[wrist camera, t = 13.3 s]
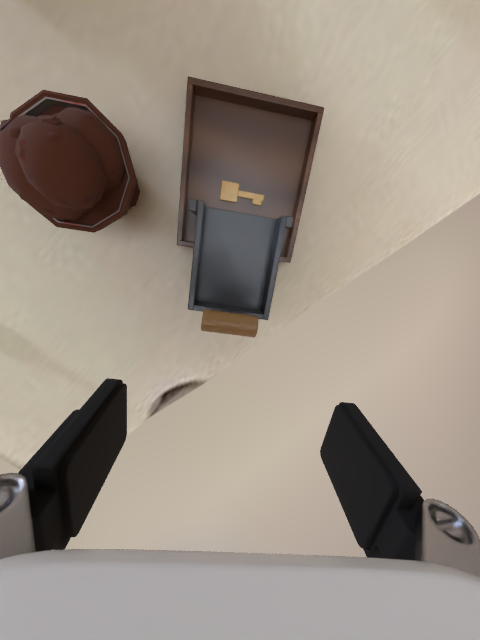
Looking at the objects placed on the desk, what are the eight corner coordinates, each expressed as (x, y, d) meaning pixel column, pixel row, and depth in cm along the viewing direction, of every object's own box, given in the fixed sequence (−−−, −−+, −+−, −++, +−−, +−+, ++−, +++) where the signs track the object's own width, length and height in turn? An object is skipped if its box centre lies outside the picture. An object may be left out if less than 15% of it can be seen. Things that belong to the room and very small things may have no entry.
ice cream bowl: (144, 128, 28) (60, 17, 14) (169, 227, 32) (123, 218, 18) (58, 144, 28) (-113, 50, 14) (93, 241, 32) (-14, 243, 18)
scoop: (201, 206, 26) (190, 183, 18) (280, 220, 27) (305, 204, 18) (191, 309, 29) (177, 330, 21) (262, 319, 30) (277, 343, 21)
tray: (191, 90, 27) (180, 46, 21) (316, 118, 29) (341, 84, 22) (180, 244, 33) (169, 245, 26) (285, 261, 34) (298, 266, 28)
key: (222, 180, 29) (222, 180, 30) (219, 199, 30) (219, 199, 31) (265, 188, 30) (265, 189, 30) (262, 207, 31) (261, 207, 31)
